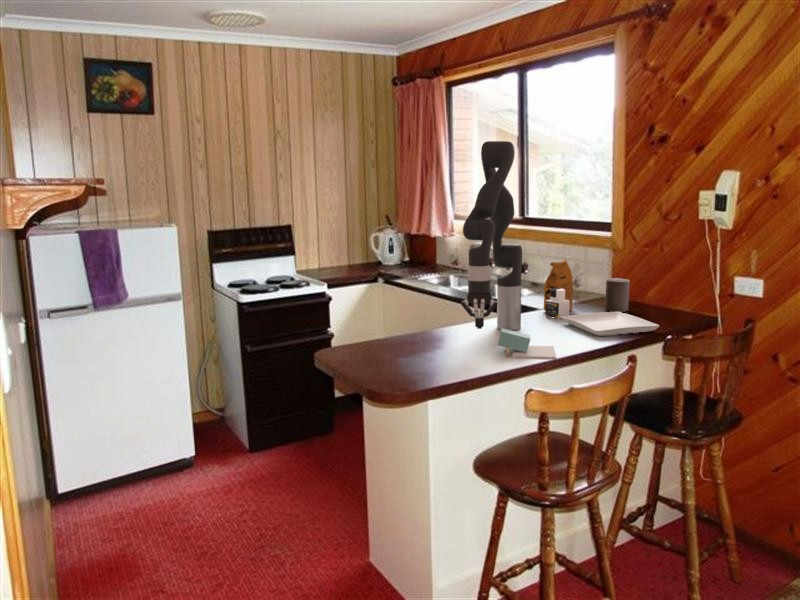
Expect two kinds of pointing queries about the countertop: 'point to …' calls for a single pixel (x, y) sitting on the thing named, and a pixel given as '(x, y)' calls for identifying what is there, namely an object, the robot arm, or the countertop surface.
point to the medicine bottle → (557, 304)
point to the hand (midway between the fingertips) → (479, 328)
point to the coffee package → (559, 281)
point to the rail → (508, 352)
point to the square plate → (610, 323)
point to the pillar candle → (617, 295)
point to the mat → (536, 352)
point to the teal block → (514, 340)
